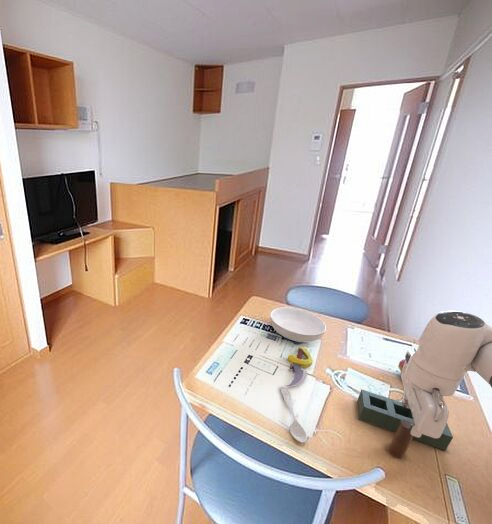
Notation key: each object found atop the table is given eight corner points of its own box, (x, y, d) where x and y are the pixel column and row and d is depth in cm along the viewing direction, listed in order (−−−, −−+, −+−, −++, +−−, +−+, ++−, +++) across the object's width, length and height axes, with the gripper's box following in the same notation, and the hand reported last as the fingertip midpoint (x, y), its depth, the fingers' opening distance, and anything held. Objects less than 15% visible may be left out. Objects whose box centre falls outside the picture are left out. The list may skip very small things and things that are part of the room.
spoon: (292, 445, 81) (294, 440, 81) (276, 387, 100) (277, 383, 99) (309, 448, 80) (310, 443, 80) (289, 389, 99) (290, 385, 99)
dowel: (402, 450, 80) (415, 422, 76) (404, 460, 78) (418, 432, 74) (387, 444, 82) (399, 417, 78) (388, 454, 79) (401, 426, 75)
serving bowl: (327, 354, 116) (332, 339, 113) (269, 343, 122) (272, 328, 119) (316, 324, 134) (320, 311, 131) (266, 316, 140) (268, 303, 137)
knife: (304, 397, 96) (313, 354, 115) (306, 390, 95) (315, 348, 114) (278, 386, 100) (291, 346, 119) (279, 380, 99) (293, 341, 118)
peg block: (437, 428, 86) (444, 415, 84) (445, 450, 80) (453, 437, 78) (356, 401, 95) (361, 389, 93) (358, 419, 89) (363, 406, 87)
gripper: (466, 414, 60) (438, 461, 65) (437, 355, 77) (416, 396, 82) (425, 401, 63) (402, 447, 68) (405, 347, 79) (387, 387, 85)
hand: (409, 419), depth 75 cm, fingers open, 8 cm apart
